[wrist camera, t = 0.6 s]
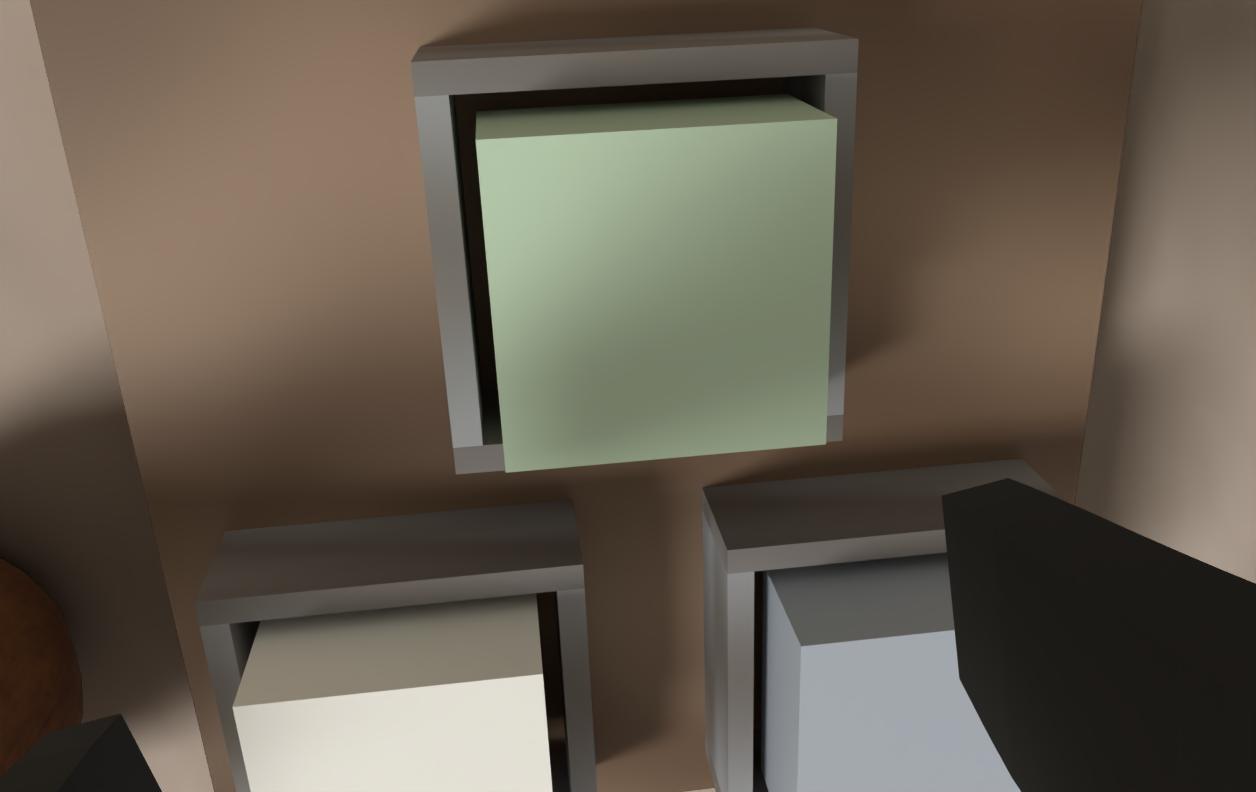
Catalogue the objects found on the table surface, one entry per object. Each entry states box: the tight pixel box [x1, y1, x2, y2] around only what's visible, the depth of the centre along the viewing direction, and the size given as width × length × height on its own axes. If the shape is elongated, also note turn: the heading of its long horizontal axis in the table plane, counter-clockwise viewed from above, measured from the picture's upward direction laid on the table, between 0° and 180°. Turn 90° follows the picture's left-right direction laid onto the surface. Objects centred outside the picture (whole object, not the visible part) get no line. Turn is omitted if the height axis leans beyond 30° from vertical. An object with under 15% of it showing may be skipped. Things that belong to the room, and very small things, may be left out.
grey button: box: [761, 552, 1021, 792], centre depth 17 cm, size 4×4×2 cm
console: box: [30, 0, 1142, 792], centre depth 17 cm, size 14×15×4 cm
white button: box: [232, 593, 553, 792], centre depth 16 cm, size 4×4×2 cm
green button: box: [476, 94, 837, 473], centre depth 14 cm, size 4×4×2 cm
